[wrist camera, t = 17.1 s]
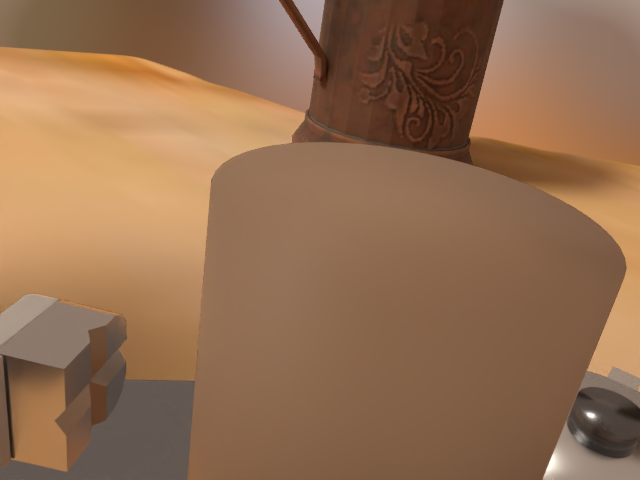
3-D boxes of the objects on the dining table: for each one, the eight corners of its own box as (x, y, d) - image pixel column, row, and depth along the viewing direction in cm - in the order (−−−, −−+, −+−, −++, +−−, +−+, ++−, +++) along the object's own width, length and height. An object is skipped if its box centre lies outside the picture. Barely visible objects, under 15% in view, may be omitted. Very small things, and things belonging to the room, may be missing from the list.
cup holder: (513, 183, 58) (602, -116, 48) (280, 187, 48) (330, -195, 37) (409, 127, 73) (460, -111, 63) (214, 120, 62) (236, -167, 52)
